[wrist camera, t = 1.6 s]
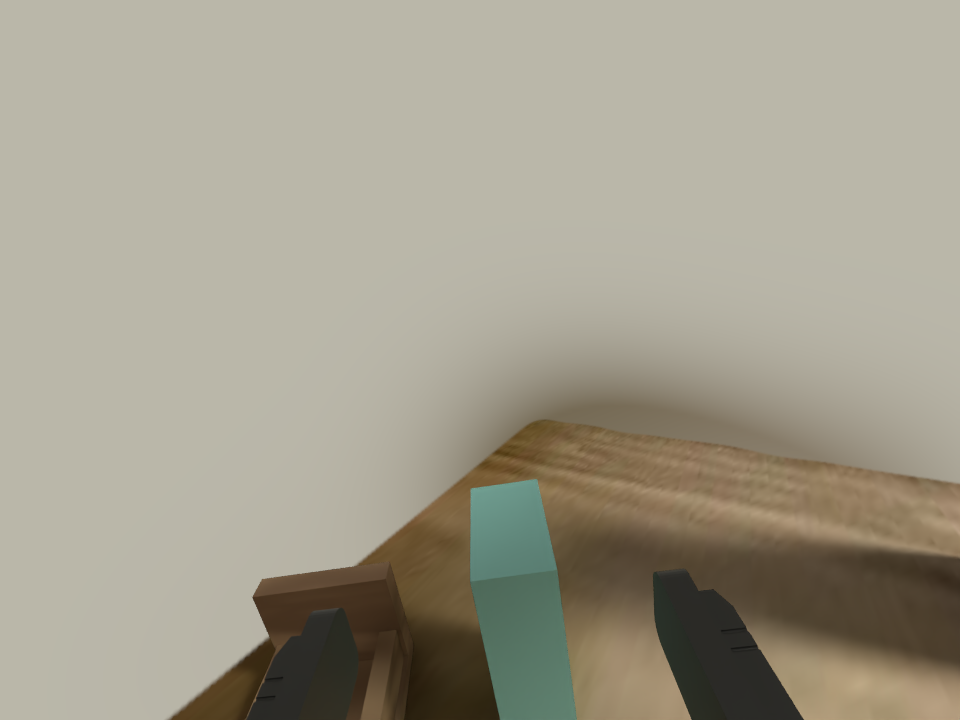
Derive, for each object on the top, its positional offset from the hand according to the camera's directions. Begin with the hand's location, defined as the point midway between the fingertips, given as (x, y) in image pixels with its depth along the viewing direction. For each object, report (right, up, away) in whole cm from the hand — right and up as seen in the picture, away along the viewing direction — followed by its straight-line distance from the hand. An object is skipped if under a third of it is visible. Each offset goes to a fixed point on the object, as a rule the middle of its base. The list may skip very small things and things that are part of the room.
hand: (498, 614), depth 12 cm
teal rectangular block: (+3, -15, +17) cm, 23 cm away
